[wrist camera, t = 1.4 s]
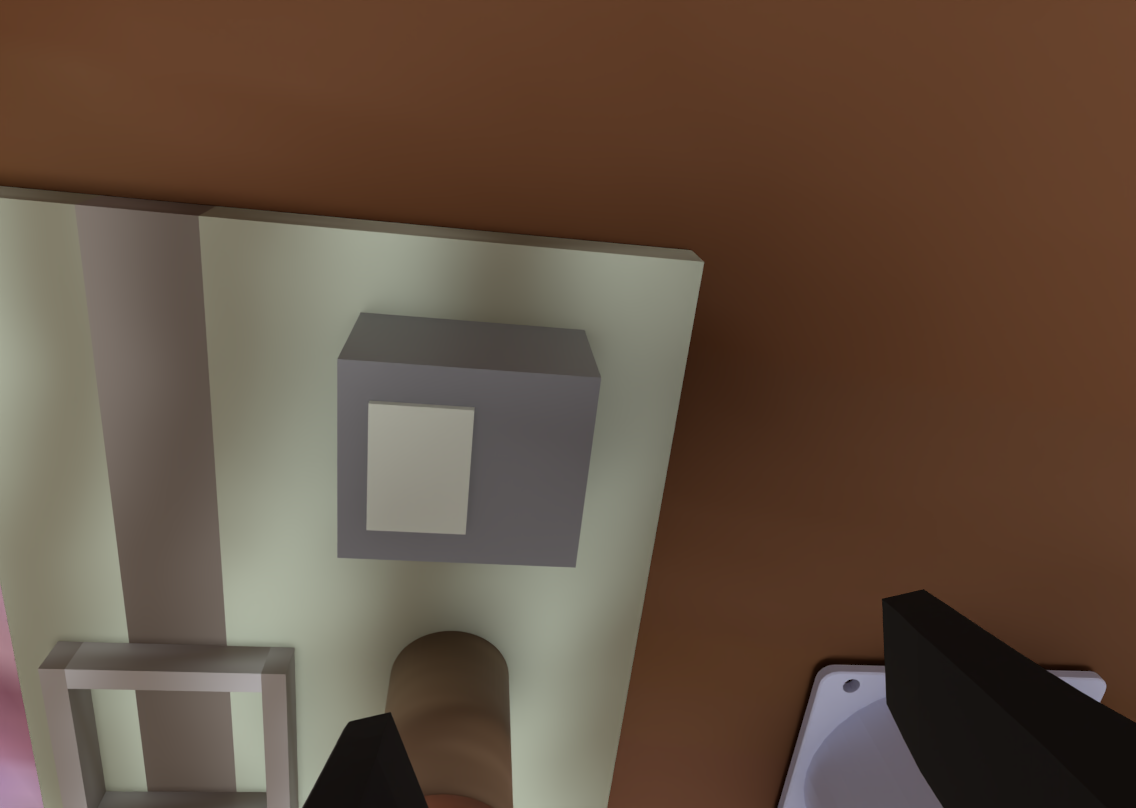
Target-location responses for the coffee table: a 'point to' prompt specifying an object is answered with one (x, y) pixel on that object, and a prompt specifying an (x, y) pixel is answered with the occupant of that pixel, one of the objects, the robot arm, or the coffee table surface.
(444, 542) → the grey box with panel
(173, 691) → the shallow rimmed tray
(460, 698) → the peg
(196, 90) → the coffee table surface
